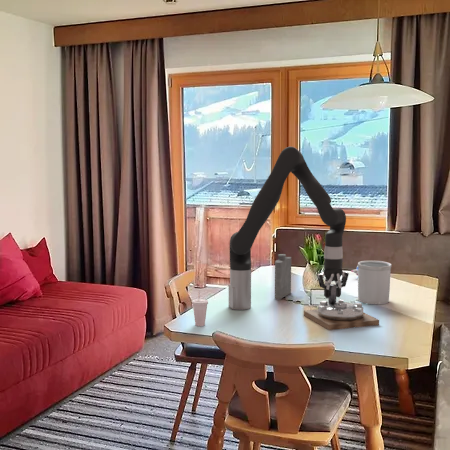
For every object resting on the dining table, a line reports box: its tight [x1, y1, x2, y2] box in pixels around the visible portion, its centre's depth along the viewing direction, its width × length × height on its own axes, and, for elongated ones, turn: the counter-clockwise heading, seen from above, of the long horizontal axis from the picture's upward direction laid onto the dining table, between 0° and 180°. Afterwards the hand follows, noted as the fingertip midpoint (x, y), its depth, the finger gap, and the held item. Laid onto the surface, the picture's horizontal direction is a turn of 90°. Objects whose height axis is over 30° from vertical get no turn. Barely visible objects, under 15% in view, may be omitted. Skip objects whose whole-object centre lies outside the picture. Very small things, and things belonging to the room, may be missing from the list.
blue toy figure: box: [350, 265, 358, 276], centre depth 314 cm, size 12×12×8 cm
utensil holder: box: [357, 260, 392, 305], centre depth 264 cm, size 15×15×18 cm
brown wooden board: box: [303, 308, 380, 331], centre depth 234 cm, size 22×22×2 cm
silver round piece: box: [317, 283, 364, 320], centre depth 233 cm, size 18×18×11 cm
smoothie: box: [191, 289, 209, 327], centre depth 227 cm, size 6×6×14 cm
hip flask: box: [274, 253, 292, 301], centre depth 274 cm, size 16×4×20 cm, turn 154°
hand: (332, 297), depth 240 cm, fingers open, 4 cm apart
